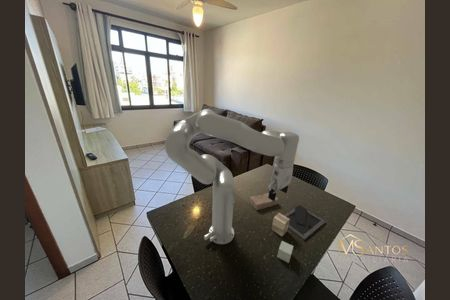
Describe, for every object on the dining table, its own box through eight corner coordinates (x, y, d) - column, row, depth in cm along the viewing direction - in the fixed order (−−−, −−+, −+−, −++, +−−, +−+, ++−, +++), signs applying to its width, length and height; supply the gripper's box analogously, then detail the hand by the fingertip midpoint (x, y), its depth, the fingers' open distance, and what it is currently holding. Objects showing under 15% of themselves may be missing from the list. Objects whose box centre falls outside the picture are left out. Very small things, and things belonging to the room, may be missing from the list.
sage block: (288, 263, 74) (290, 254, 72) (277, 257, 77) (278, 248, 75) (291, 254, 78) (293, 246, 76) (280, 248, 81) (281, 240, 79)
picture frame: (298, 207, 109) (277, 221, 97) (299, 204, 108) (277, 218, 97) (324, 223, 97) (303, 241, 86) (325, 220, 96) (304, 238, 85)
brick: (270, 197, 117) (271, 191, 115) (278, 204, 110) (279, 198, 108) (248, 202, 111) (249, 196, 109) (256, 211, 104) (256, 204, 102)
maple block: (281, 236, 87) (284, 224, 84) (271, 229, 91) (273, 217, 88) (286, 231, 90) (289, 219, 87) (276, 224, 94) (278, 212, 91)
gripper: (280, 170, 66) (273, 207, 72) (302, 159, 77) (294, 192, 83) (264, 163, 71) (259, 198, 77) (287, 154, 82) (280, 185, 88)
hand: (277, 195), depth 80 cm, fingers open, 9 cm apart
